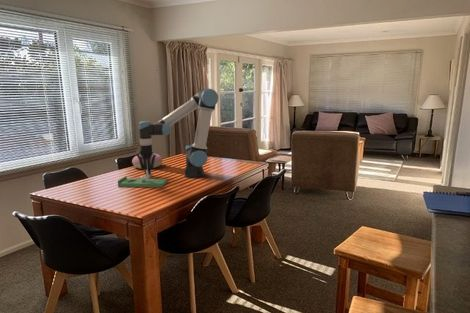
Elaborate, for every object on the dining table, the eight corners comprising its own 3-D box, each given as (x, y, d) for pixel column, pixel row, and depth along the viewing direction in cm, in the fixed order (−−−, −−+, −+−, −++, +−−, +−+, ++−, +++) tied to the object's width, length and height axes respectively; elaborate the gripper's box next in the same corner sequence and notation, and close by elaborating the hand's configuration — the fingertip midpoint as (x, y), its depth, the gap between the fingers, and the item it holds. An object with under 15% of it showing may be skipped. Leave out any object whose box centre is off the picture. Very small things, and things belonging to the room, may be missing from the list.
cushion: (165, 163, 291) (164, 152, 289) (160, 170, 266) (159, 157, 264) (136, 163, 290) (136, 152, 288) (128, 170, 265) (127, 158, 263)
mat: (167, 182, 229) (166, 176, 228) (161, 187, 217) (161, 181, 217) (125, 181, 232) (125, 176, 231) (118, 186, 220) (117, 180, 219)
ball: (140, 175, 225) (141, 180, 226) (138, 176, 221) (139, 182, 222) (145, 174, 225) (147, 179, 226) (144, 175, 221) (145, 181, 222)
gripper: (157, 143, 222) (159, 177, 226) (138, 143, 223) (140, 177, 228) (153, 145, 214) (155, 180, 219) (134, 145, 216) (136, 180, 220)
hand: (148, 178), depth 223 cm, fingers closed
